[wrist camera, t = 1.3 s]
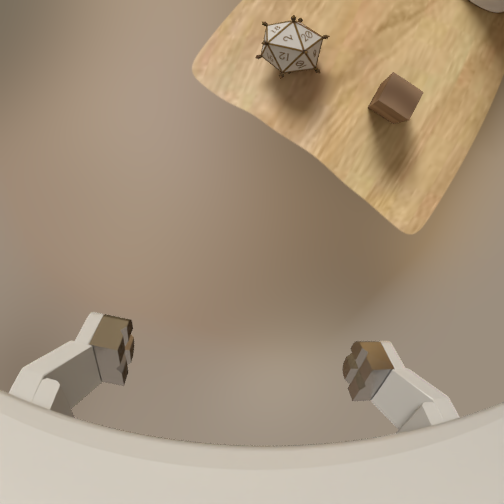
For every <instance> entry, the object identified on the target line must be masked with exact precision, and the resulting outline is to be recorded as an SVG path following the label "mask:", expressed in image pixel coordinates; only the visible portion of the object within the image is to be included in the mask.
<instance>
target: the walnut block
mask: <svg viewBox="0 0 504 504" xmlns="http://www.w3.org/2000/svg"><path fill="white" fill-rule="evenodd" d="M422 94H423V92H422V91H421V90H420V89H418V88H417V87H415V86H414V85H412V84H411V83H409V82H408V81H406V80H405V79H403V78H402V77H400V76H399V75H397V74H395V73H394V72H393V73H392V74H391V75H390V76H389V77H388V78H387V79H386V80H385V81H383V82H382V83H381V84H380V86H379V88H378V90H377V92H376V94H375V95H374V97H373V99H372V101H371V103H370V105H369V106H368V108H369V109H371V110H372V111H374V112H375V113H377V114H379V115H380V116H382V117H383V118H385V119H386V120H388V121H390V122H391V123H393V124H394V123H398V122H403V121H407V120H409V119H410V117H411V115H412V114H413V112H414V110H415V108H416V106H417V104H418V102H419V100H420V98H421V96H422Z"/></svg>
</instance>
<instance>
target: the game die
mask: <svg viewBox="0 0 504 504" xmlns="http://www.w3.org/2000/svg"><path fill="white" fill-rule="evenodd" d="M291 18H292V21H286V22H281V23H275V24H271V25H268V24H267V23H266V22H262V25H264V26H266V30H265V36H264V41H263V42H262V44H263V46H262V52H261V55H257V56H256V57H255V58H257V59H259V58H261V57H263V58H264V59H265V60H267V61H268V62H269V63H270V64H272V65H273V66H274V67H275V68H277V69H278V70H279V71H280V72H281V73H280V75H279V76H280V79H281V78H282V77H284V76H283V75H284V73H291V72H295V71H303V70H310V69H315V71H316V73H320V70H319V69H318V68H316V66H317V62H318V57H319V53H320V49H321V45H322V41H323V39H326V38H327V39H328V37H329V36H328V35H324V36H321V35H319V34H318V33H316V32H315V31H313V30H312V29H310V28H308V27H307V26H305V25H304V24H302V23H301V22H302V21H303V20H302V18H300V19H298V22H297V21H295V20H296V17H295V16H294V15H293V16H292V17H291Z"/></svg>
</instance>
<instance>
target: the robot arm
mask: <svg viewBox="0 0 504 504" xmlns="http://www.w3.org/2000/svg"><path fill="white" fill-rule="evenodd" d="M470 1H471V2H473V3H474V4H476V5H477V6H479V7H481V8H483V9H486V10H488V11H491V12H498V13H499V12H504V0H470ZM132 329H133V325H132V321H131V320H130V319H125V318H120V317H115V316H111V315H106V314H105V315H104V314H100V313H96V312H92V313H90V314H89V316H88V318H87V319H86V321H85V323H84V325H83V327H82V328H81V330H80V332H79V334H78V336H77V338H76V340H75V341H69V342H68V343H66V344H64V345H62V346H60V347H59V348H57V349H55V350H53V351H52V352H50V353H48V354H46V355H44V356H43V357H41V358H39V359H37V360H36V361H34V362H32V363H30V364H28V365H27V366H25V367H23V368H22V369H21V371H20V373H19V375H18V376H17V378H16V380H15V382H14V384H13V386H12V388H11V390H10V392H9V393H7V392H5V391H2V390H0V504H504V402H502V403H500V404H497V405H495V406H492V407H489V408H487V409H484V410H481V411H478V412H475V413H473V414H469V415H466V416H463V417H459V415H458V414H457V412H456V410H455V408H454V406H453V404H452V402H451V401H450V399H449V397H448V396H446V395H445V394H443V393H442V392H441V391H439V390H438V389H437V388H435V387H434V386H432V385H431V384H430V383H428V382H427V381H425V380H424V379H423V378H421V377H420V376H418V375H417V374H416V373H414V372H413V371H411V370H410V369H406V368H405V367H404V365H403V363H402V361H401V359H400V358H399V356H398V354H397V352H396V350H395V349H394V347H393V345H392V343H391V342H389V341H356V342H355V343H353V345H352V347H351V351H352V353H351V354H350V355H348V356H347V357H346V359H345V361H344V363H343V376H344V379H345V380H346V381H347V382H348V383H350V385H349V387H348V390H349V393H350V396H351V398H352V401H366V400H371V402H372V403H373V404H374V405H375V406H376V407H377V408H378V409H379V410H380V411H381V412H382V413H383V414H384V415H385V416H386V417H387V418H388V419H389V420H390V421H391V422H392V423H393V424H394V425H395V426H396V427H397V428H398V429H399V431H398V432H397V433H396V434H391V435H386V436H380V437H374V438H367V439H361V440H353V441H345V442H335V443H324V444H310V445H291V446H290V445H288V446H248V445H226V444H211V443H201V442H191V441H183V440H175V439H168V438H162V437H155V436H149V435H144V434H139V433H133V432H129V431H124V430H120V429H115V428H111V427H107V426H103V425H99V424H95V423H91V422H88V421H84V420H81V419H77V418H75V417H74V415H73V413H72V411H71V409H72V408H73V407H74V406H75V405H77V404H78V403H79V402H80V401H81V400H82V399H83V398H84V397H86V396H87V395H88V394H89V393H90V392H92V391H93V390H94V389H95V388H96V387H97V386H98V385H100V384H101V383H102V382H106V383H112V384H116V385H122V386H124V384H125V381H126V378H127V375H128V366H127V365H128V364H130V363H131V361H132V358H133V352H134V337H133V336H132V335H131V332H132Z"/></svg>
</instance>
